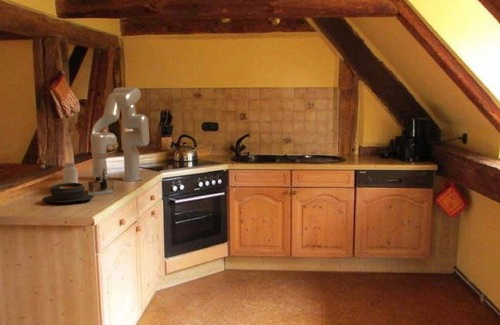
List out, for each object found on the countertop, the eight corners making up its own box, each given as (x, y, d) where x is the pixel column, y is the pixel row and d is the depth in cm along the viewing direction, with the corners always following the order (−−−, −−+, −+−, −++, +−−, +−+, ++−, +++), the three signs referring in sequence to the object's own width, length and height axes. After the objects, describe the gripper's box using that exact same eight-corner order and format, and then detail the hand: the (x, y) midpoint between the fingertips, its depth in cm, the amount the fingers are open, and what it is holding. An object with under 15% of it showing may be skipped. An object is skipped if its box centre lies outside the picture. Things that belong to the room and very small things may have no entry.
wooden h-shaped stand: (93, 192, 239) (92, 183, 238) (88, 190, 244) (88, 181, 243) (113, 189, 247) (113, 180, 246) (109, 187, 251) (108, 179, 251)
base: (87, 190, 249) (87, 180, 248) (111, 189, 253) (111, 178, 252) (88, 195, 237) (87, 184, 236) (113, 193, 241) (112, 182, 240)
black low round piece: (98, 197, 233) (97, 181, 232) (87, 205, 215) (86, 188, 214) (50, 197, 232) (49, 182, 231) (35, 206, 213) (34, 189, 212)
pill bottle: (74, 186, 262) (73, 161, 260) (80, 188, 257) (79, 162, 255) (61, 188, 257) (59, 162, 255) (67, 190, 251) (65, 164, 249)
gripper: (86, 155, 246) (88, 186, 249) (99, 158, 233) (101, 191, 236) (99, 154, 251) (101, 184, 254) (112, 157, 238) (114, 189, 241)
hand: (101, 187), depth 245 cm, fingers open, 7 cm apart
